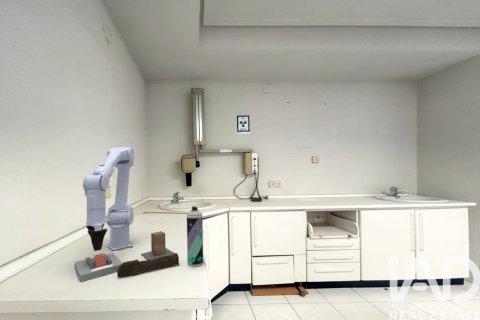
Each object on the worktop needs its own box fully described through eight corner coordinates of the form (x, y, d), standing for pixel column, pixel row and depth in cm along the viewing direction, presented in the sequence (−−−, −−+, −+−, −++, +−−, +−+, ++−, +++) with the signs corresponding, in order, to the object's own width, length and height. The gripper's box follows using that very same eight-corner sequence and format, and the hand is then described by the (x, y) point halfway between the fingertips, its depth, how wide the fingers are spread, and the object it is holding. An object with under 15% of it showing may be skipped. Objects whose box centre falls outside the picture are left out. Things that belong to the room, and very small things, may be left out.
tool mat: (140, 254, 92) (140, 253, 92) (165, 248, 98) (165, 247, 98) (150, 262, 84) (150, 261, 84) (176, 254, 91) (176, 253, 91)
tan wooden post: (151, 253, 91) (151, 233, 92) (161, 251, 94) (160, 231, 94) (155, 256, 88) (155, 235, 89) (165, 253, 91) (165, 233, 91)
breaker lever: (94, 265, 77) (94, 255, 78) (104, 262, 79) (104, 253, 80) (95, 267, 76) (95, 257, 76) (106, 264, 78) (105, 255, 78)
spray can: (186, 262, 83) (185, 205, 84) (201, 259, 85) (200, 204, 86) (188, 268, 78) (187, 208, 79) (204, 265, 80) (203, 206, 81)
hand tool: (177, 262, 84) (176, 249, 84) (179, 266, 80) (179, 252, 80) (117, 275, 75) (117, 260, 75) (117, 280, 71) (117, 265, 72)
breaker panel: (74, 268, 81) (74, 258, 81) (112, 258, 89) (112, 250, 89) (80, 282, 70) (80, 271, 70) (123, 269, 78) (123, 260, 78)
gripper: (112, 209, 79) (112, 250, 79) (106, 204, 91) (107, 239, 90) (87, 212, 75) (87, 255, 74) (84, 207, 87) (85, 243, 86)
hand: (96, 247), depth 82 cm, fingers open, 7 cm apart
